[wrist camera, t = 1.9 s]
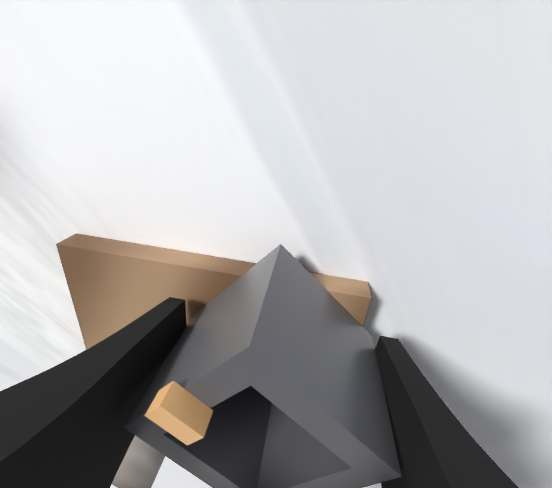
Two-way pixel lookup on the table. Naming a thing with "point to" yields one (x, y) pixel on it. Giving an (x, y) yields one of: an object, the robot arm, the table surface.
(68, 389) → the robot arm
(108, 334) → the board
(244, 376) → the grey hollow cube
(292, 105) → the table surface
